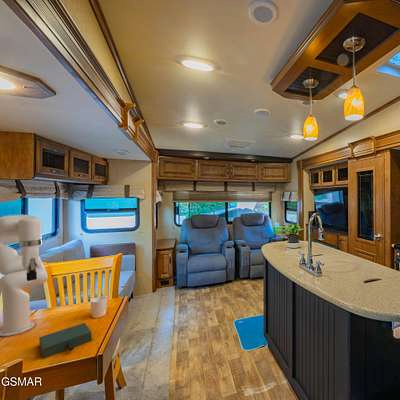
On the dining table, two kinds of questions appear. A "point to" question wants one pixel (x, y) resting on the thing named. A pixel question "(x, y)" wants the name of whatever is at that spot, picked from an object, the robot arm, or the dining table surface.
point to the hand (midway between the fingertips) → (31, 279)
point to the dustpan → (64, 339)
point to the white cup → (98, 306)
